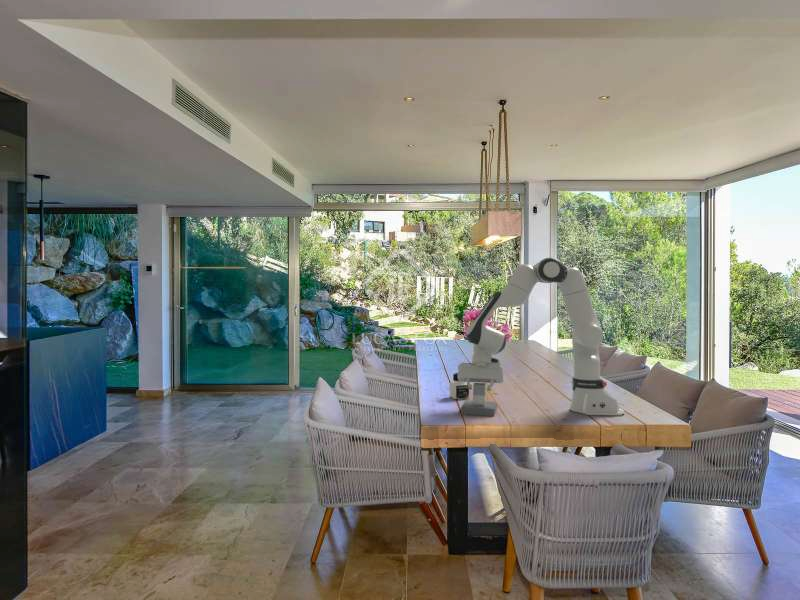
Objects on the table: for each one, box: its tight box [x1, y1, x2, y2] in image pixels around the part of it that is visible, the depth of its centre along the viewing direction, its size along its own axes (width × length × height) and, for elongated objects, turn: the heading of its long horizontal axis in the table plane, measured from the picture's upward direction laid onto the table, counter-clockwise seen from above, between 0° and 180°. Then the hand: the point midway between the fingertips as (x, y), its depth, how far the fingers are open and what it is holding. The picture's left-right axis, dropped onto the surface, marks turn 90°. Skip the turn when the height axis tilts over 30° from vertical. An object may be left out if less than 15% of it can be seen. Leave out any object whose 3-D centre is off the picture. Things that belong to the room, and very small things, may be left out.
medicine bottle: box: [449, 372, 470, 400], centre depth 262 cm, size 7×7×12 cm
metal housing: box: [472, 382, 487, 406], centre depth 234 cm, size 5×5×9 cm
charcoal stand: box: [460, 399, 498, 417], centre depth 234 cm, size 14×14×3 cm
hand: (479, 389), depth 233 cm, fingers open, 7 cm apart
